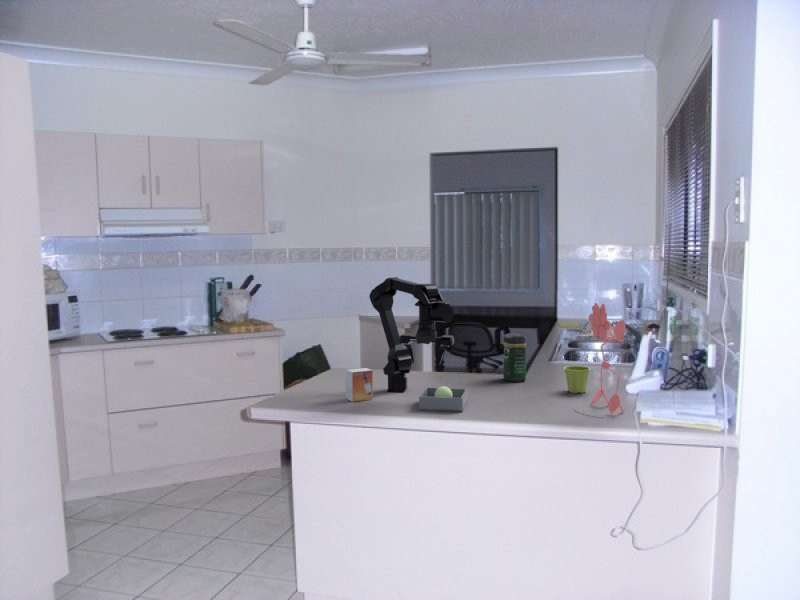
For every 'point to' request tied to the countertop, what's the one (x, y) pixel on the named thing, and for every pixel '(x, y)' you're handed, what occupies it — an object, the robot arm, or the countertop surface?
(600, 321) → the figurine
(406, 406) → the countertop surface
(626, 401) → the countertop surface
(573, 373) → the plant pot
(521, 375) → the coffee jar
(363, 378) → the small box
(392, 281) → the robot arm
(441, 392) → the ball
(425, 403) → the bin
